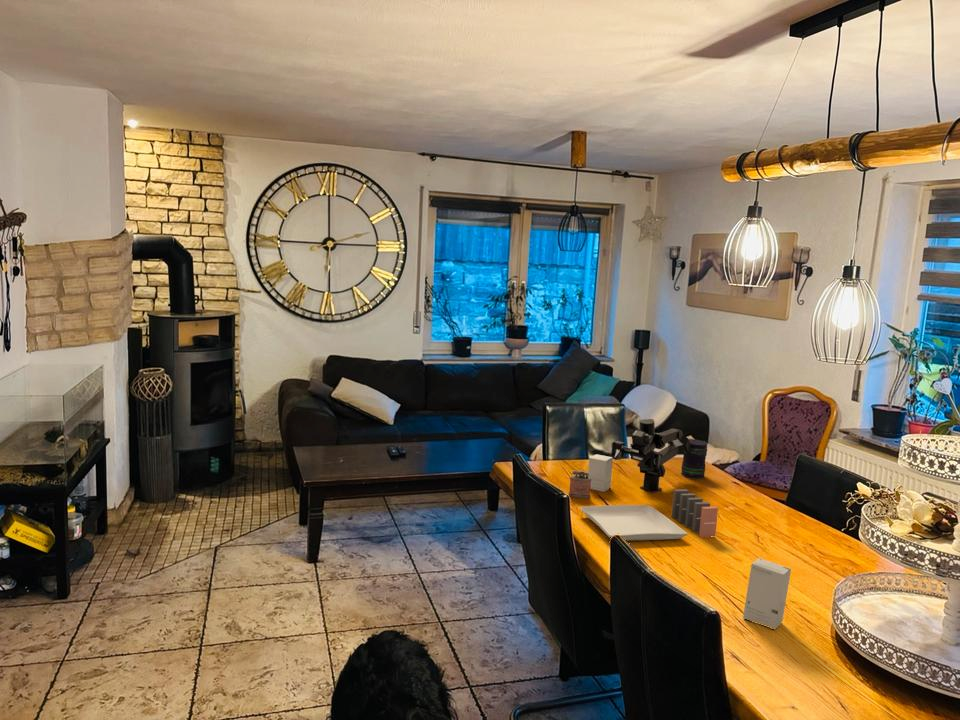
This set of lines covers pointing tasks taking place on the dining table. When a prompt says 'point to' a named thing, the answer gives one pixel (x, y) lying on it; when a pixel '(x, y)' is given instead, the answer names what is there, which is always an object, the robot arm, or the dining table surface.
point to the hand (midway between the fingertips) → (626, 461)
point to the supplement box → (600, 472)
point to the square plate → (633, 522)
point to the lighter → (580, 484)
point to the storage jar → (695, 460)
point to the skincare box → (767, 593)
